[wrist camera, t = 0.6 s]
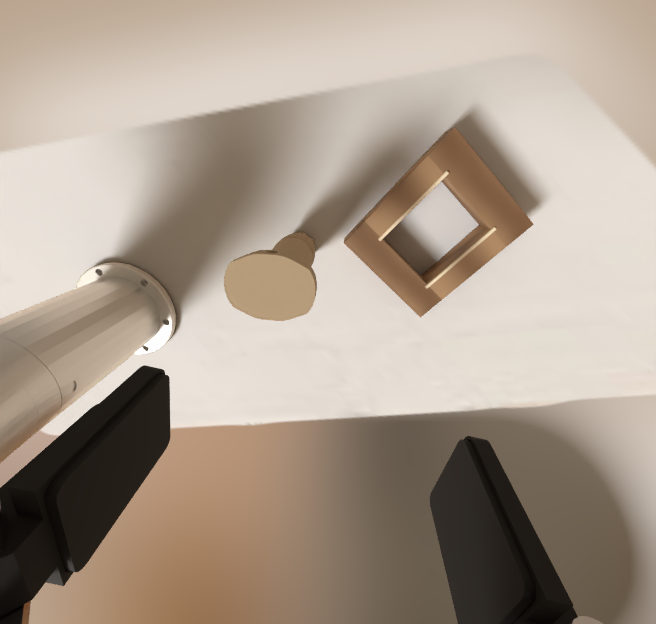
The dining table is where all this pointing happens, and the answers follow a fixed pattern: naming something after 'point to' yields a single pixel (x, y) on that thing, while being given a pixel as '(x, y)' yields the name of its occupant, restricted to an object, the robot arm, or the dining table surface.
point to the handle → (274, 280)
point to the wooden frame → (469, 254)
